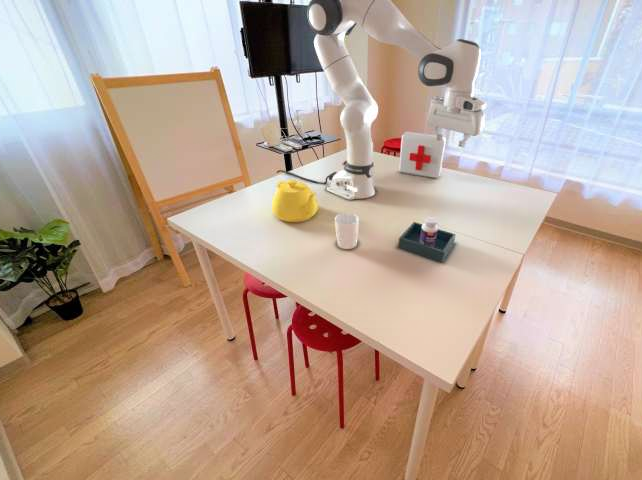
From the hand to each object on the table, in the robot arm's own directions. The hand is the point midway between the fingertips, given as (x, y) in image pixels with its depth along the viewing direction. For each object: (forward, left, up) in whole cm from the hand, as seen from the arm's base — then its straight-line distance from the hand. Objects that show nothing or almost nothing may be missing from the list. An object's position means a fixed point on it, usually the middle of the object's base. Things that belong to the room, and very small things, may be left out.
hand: (450, 143), depth 107 cm
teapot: (-48, -29, -29) cm, 63 cm away
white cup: (-20, -36, -29) cm, 51 cm away
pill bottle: (+4, -22, -29) cm, 37 cm away
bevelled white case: (-23, +37, -29) cm, 53 cm away
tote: (+4, -22, -29) cm, 37 cm away
